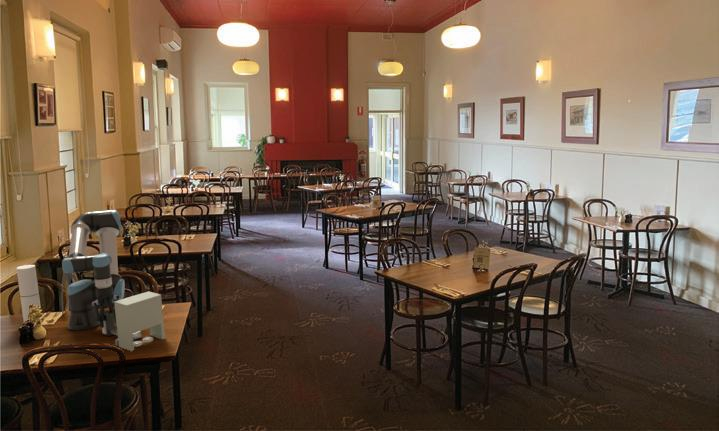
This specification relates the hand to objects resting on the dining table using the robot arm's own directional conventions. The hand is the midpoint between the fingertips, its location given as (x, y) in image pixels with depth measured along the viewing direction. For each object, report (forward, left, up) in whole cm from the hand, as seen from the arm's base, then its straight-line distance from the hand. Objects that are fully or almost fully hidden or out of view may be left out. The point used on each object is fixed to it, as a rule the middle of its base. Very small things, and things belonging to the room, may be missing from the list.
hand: (109, 331), depth 288 cm
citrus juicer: (-45, +4, -2) cm, 46 cm away
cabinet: (+24, +3, -1) cm, 24 cm away
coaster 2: (+24, +6, -2) cm, 24 cm away
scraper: (+8, 0, -1) cm, 8 cm away
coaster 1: (+24, 0, -2) cm, 24 cm away
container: (-53, -12, -2) cm, 55 cm away
